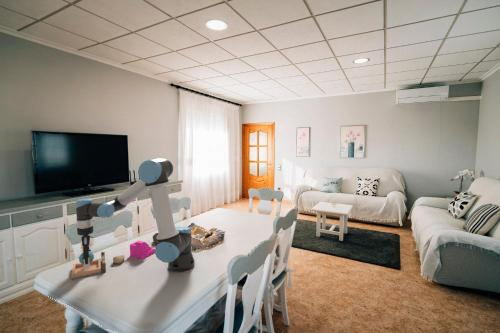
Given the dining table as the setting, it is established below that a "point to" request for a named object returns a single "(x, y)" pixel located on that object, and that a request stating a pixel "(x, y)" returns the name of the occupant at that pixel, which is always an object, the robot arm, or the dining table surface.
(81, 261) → the ball
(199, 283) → the dining table surface
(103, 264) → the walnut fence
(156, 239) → the fossil
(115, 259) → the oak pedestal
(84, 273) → the terracotta dish
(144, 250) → the magenta block
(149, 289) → the dining table surface
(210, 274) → the dining table surface
